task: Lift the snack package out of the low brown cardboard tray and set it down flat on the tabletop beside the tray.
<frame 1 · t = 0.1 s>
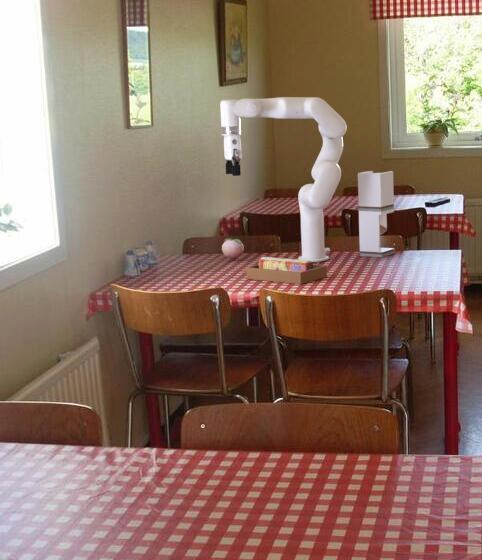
hand: (233, 174, 395), 37 cm above the table, tool pointing down, fingers open, 9 cm apart
decorative fruit: (233, 260, 419), on the table
brown cardboard tray: (286, 277, 376), on the table
coffee grinder: (377, 254, 423), on the table
snack package: (286, 276, 376), point 1 cm above the table, touching brown cardboard tray
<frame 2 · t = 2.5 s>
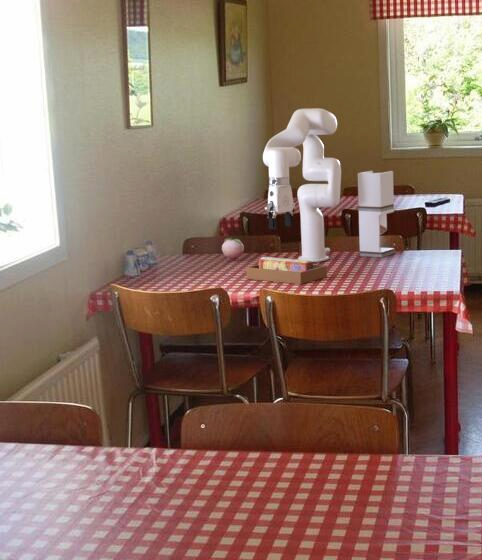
hand: (280, 227, 374), 19 cm above the table, tool pointing down, fingers open, 9 cm apart
nothing on the table moved.
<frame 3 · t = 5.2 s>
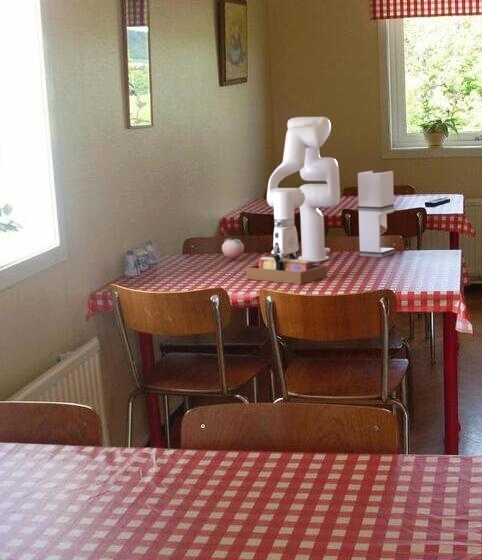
hand: (286, 269, 375), 3 cm above the table, tool pointing down, fingers closed on snack package, 7 cm apart
snack package: (286, 276, 376), point 1 cm above the table, touching brown cardboard tray, gripper
everything else where it was.
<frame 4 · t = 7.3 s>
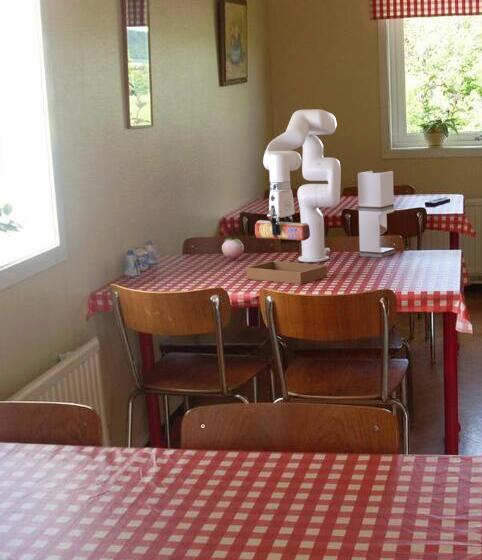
hand: (282, 233, 374), 17 cm above the table, tool pointing down, fingers closed on snack package, 7 cm apart
snack package: (282, 239, 375), point 14 cm above the table, touching gripper
everything else where it was.
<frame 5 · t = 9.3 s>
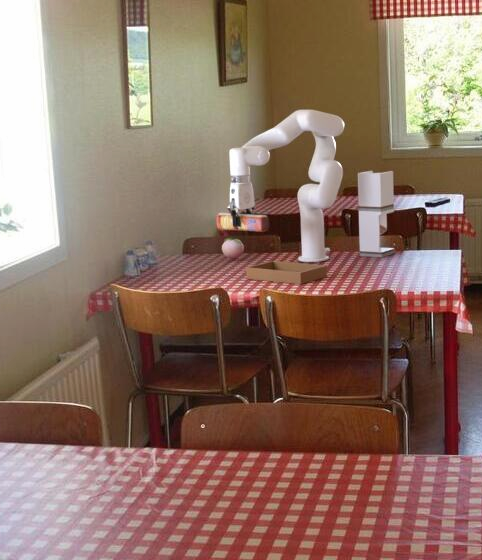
hand: (242, 224, 389), 18 cm above the table, tool pointing down, fingers closed on snack package, 7 cm apart
snack package: (243, 230, 390), point 16 cm above the table, touching gripper
everything else where it was.
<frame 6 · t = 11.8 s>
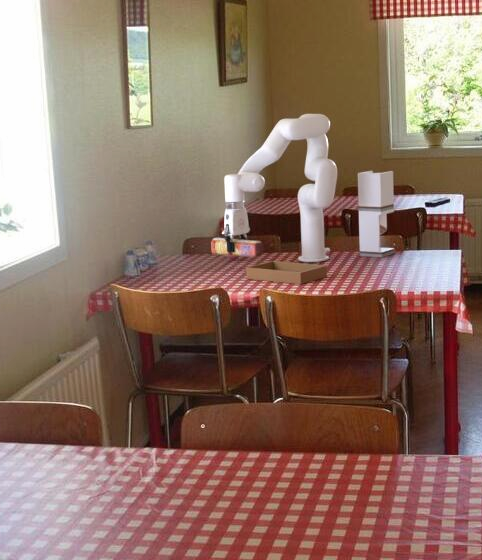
hand: (237, 250, 394), 8 cm above the table, tool pointing down, fingers closed on snack package, 7 cm apart
snack package: (237, 256, 394), point 6 cm above the table, touching gripper
everything else where it was.
when the fingers open (2 cm above the table, at t = 13.8 s): snack package stays where it is, on the table.
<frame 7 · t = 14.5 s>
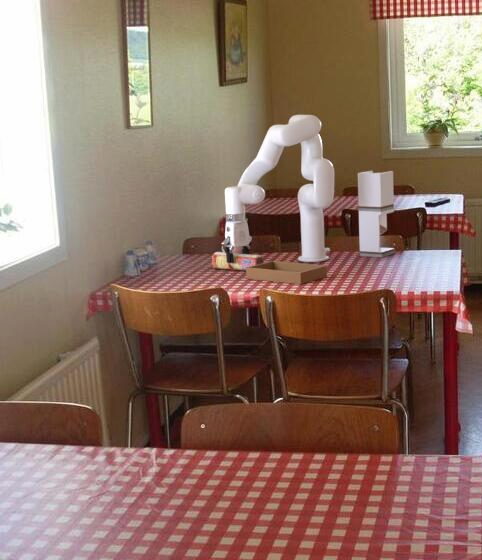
hand: (238, 260, 395), 4 cm above the table, tool pointing down, fingers open, 9 cm apart
snack package: (238, 270, 396), on the table
everything else where it was.
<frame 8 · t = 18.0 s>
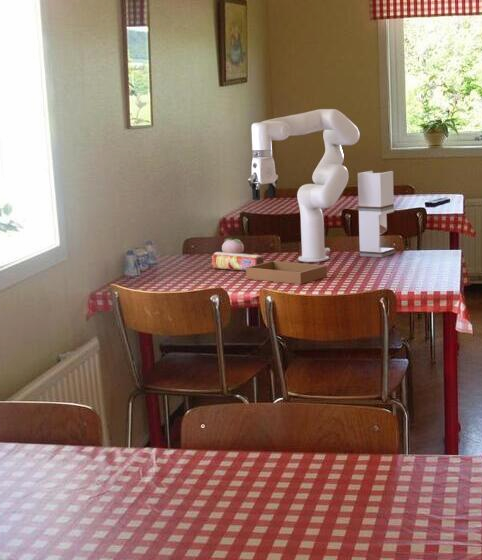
hand: (264, 198, 389), 28 cm above the table, tool pointing down, fingers open, 9 cm apart
nothing on the table moved.
at the end: snack package inside the target area (0.2 cm from its centre), on the table; snack package touching table; snack package tilted 0° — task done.
